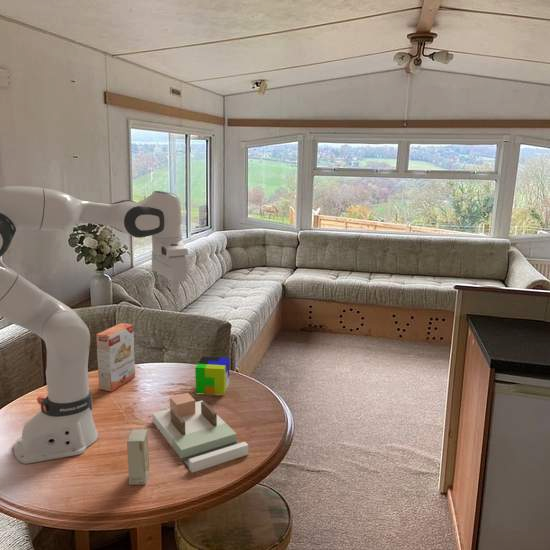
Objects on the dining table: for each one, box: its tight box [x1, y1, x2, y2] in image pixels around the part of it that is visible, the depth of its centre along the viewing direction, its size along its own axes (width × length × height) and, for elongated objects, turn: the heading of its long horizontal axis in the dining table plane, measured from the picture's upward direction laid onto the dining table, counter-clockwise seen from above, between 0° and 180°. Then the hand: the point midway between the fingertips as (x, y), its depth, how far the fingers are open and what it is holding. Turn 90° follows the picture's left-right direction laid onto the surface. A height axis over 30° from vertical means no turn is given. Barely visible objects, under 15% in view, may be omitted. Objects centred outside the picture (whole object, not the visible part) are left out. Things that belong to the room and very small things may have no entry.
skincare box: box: [126, 429, 150, 486], centre depth 134 cm, size 6×4×12 cm
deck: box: [151, 400, 249, 474], centre depth 155 cm, size 17×31×3 cm, turn 32°
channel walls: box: [170, 400, 218, 435], centre depth 156 cm, size 11×9×4 cm
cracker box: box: [95, 322, 136, 393], centre depth 188 cm, size 14×6×21 cm, turn 159°
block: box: [169, 392, 196, 417], centre depth 163 cm, size 6×6×4 cm
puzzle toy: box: [194, 356, 230, 395], centre depth 186 cm, size 10×10×10 cm
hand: (168, 290), depth 160 cm, fingers open, 8 cm apart
